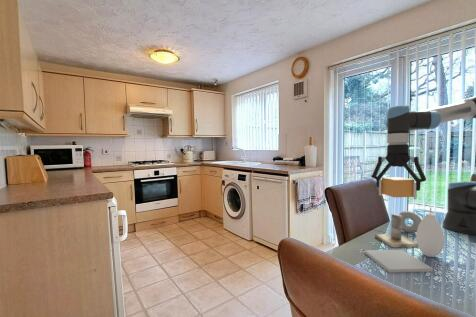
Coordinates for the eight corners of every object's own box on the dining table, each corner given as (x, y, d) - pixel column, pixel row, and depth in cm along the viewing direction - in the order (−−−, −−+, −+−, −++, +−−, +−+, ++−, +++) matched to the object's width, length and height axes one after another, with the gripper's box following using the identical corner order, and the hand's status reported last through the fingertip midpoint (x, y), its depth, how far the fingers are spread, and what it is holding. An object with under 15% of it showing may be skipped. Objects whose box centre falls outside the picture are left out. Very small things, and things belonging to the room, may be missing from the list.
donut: (422, 234, 108) (423, 212, 107) (421, 236, 105) (422, 214, 105) (396, 229, 114) (396, 208, 114) (395, 231, 112) (395, 210, 111)
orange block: (414, 197, 95) (414, 179, 94) (394, 197, 95) (394, 179, 94) (399, 193, 103) (400, 177, 102) (381, 193, 103) (381, 177, 102)
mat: (401, 252, 89) (401, 249, 89) (432, 271, 75) (432, 268, 75) (364, 253, 89) (364, 250, 89) (389, 272, 75) (389, 269, 75)
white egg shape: (447, 262, 81) (448, 210, 80) (418, 258, 84) (419, 208, 84) (439, 253, 88) (441, 205, 87) (413, 249, 91) (414, 203, 91)
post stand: (399, 236, 105) (400, 211, 105) (419, 246, 94) (419, 218, 94) (375, 236, 105) (375, 211, 104) (392, 247, 94) (392, 219, 93)
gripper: (435, 143, 92) (434, 198, 93) (368, 144, 109) (368, 192, 110) (434, 143, 87) (433, 202, 88) (363, 144, 103) (363, 194, 104)
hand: (397, 196), depth 99 cm, fingers closed on orange block, 11 cm apart
